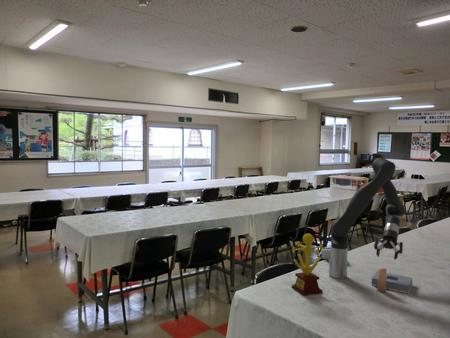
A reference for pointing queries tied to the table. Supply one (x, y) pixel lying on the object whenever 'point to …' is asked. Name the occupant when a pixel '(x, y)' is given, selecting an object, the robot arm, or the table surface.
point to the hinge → (327, 253)
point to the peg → (381, 279)
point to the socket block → (395, 282)
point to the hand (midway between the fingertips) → (386, 257)
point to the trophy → (307, 269)
